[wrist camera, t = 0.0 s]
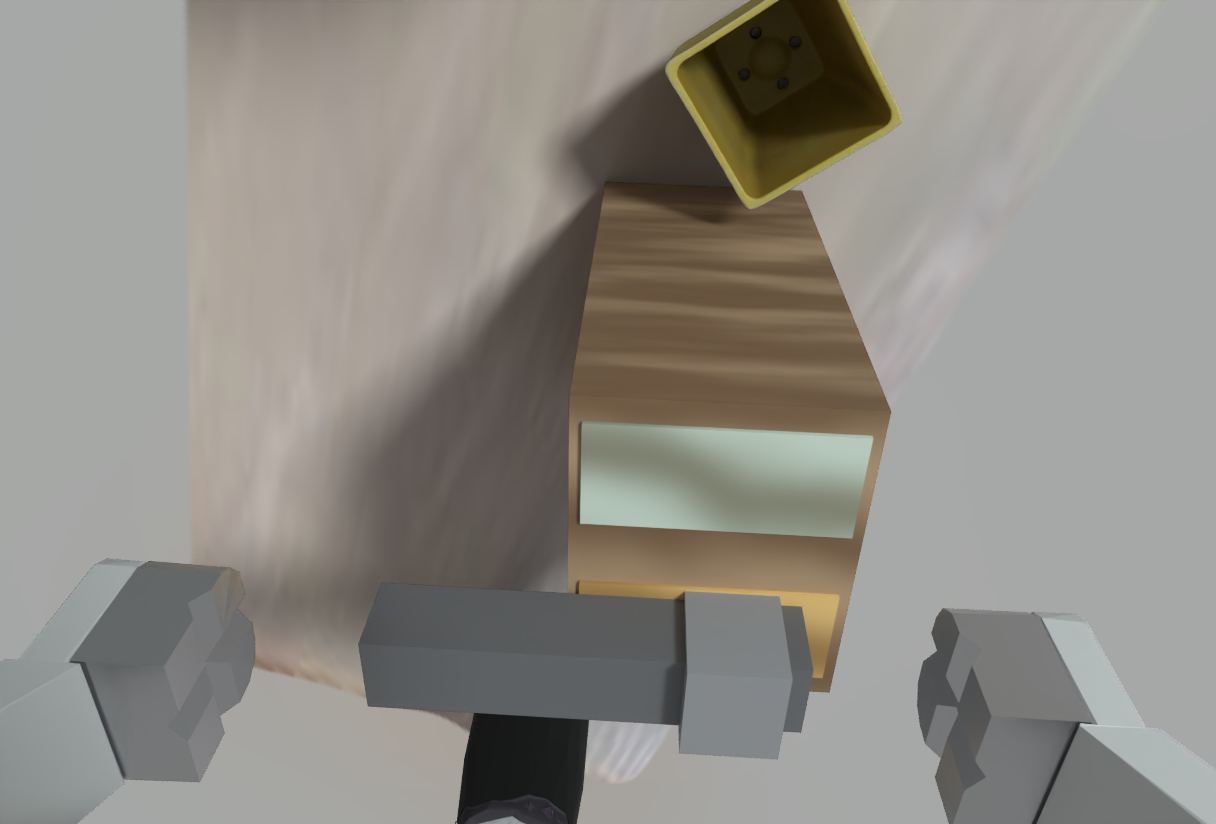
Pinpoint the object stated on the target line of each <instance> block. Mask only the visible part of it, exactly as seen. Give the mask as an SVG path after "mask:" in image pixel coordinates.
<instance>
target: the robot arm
mask: <svg viewBox="0 0 1216 824" xmlns="http://www.w3.org/2000/svg"><path fill="white" fill-rule="evenodd" d="M244 595H245V592H244V588H243V584H242V581H241V577H240V574H239V572H238V571H236V570H234V569H232V568H229V567H216V566H204V565H192V564H179V563H167V562H155V561H148V562H142V561H130V560H118V559H108V558H107V559H105V560H103V561H101V562H99V563H97V564H95V565H94V566H93V567H92V568H91V570H90V571H89V572H88V573H87V574H86V576H85V577H84V578H83V579H82V581H81V582H80V583H79V584H78V586H77V587H76V588H75V589H74V591H73V592H72V593H71V595H70V596H69V597H68V598H67V599H66V601H65V602H64V603H63V604H62V606H61V607H60V608H59V610H58V611H57V612H56V613H55V614H54V616H53V617H52V618H51V619H50V621H49V622H48V623H47V624H46V626H45V627H44V628H43V629H42V631H41V632H40V633H39V634H38V636H37V637H36V638H35V639H34V641H33V642H32V643H31V644H30V646H29V647H28V648H27V649H26V651H25V652H24V653H23V654H22V656H21V657H20V658H19V659H18V660H13V659H4V660H2V661H0V824H77V823H78V822H79V821H80V820H82V819H83V818H84V817H85V816H86V815H88V814H89V813H90V812H91V811H93V810H94V809H95V808H96V807H97V806H99V805H100V804H101V803H102V802H103V801H104V800H106V799H107V798H108V797H109V796H110V795H112V794H113V793H114V792H115V791H116V790H118V789H119V788H120V787H121V786H122V785H124V780H123V779H126V780H127V779H129V780H154V781H182V782H200V781H201V779H202V777H203V775H204V773H205V771H206V769H207V767H208V765H209V763H210V761H211V759H212V757H213V755H214V753H215V751H216V749H217V747H218V745H219V743H220V741H221V739H222V737H223V735H224V729H223V725H222V722H221V718H220V715H222V714H223V713H225V712H226V711H228V710H229V709H230V708H232V707H233V706H235V705H236V704H238V703H239V702H240V701H241V699H242V697H243V695H244V692H245V690H246V688H247V686H248V684H249V682H250V677H251V673H252V669H253V664H254V660H255V635H254V631H253V626H252V622H251V621H250V620H249V619H248V618H247V617H246V616H245V615H244V614H243V613H241V612H240V611H239V610H238V609H237V607H238V605H239V604H240V602H241V600H242V598H243V596H244ZM932 636H933V639H934V642H935V645H936V649H937V651H936V652H935V653H934V654H933V655H931V656H930V657H929V658H927V659H926V660H924V661H923V665H922V669H921V673H920V677H919V681H918V700H917V707H918V714H919V722H920V727H921V730H922V734H923V737H924V741H925V744H926V745H927V746H928V747H929V748H930V749H931V750H933V751H934V752H935V753H936V754H937V755H938V756H939V757H940V758H941V760H940V763H939V766H938V770H937V773H936V776H935V778H936V782H937V786H938V789H939V792H940V796H941V799H942V802H943V805H944V809H945V812H946V815H947V819H948V822H949V824H1216V770H1215V769H1214V768H1212V767H1211V766H1210V765H1209V764H1207V763H1206V762H1204V761H1203V760H1202V759H1200V758H1199V757H1198V756H1196V755H1195V754H1193V753H1192V752H1191V751H1190V750H1188V749H1187V748H1185V747H1184V746H1183V745H1181V744H1180V743H1179V742H1177V741H1176V740H1175V739H1173V738H1171V737H1170V736H1169V735H1168V734H1166V733H1165V732H1163V731H1162V730H1161V729H1156V728H1146V727H1145V725H1144V723H1143V722H1142V720H1141V718H1140V716H1139V714H1138V712H1137V711H1136V709H1135V707H1134V705H1133V704H1132V702H1131V700H1130V698H1129V697H1128V695H1127V693H1126V691H1125V689H1124V688H1123V686H1122V684H1121V682H1120V680H1119V679H1118V677H1117V675H1116V673H1115V672H1114V670H1113V668H1112V666H1111V665H1110V662H1109V661H1108V659H1107V657H1106V655H1105V654H1104V652H1103V650H1102V648H1101V647H1100V645H1099V643H1098V641H1097V639H1096V637H1095V636H1094V634H1093V632H1092V630H1091V629H1090V627H1089V625H1088V623H1087V622H1086V620H1085V619H1084V618H1082V617H1081V616H1080V615H1078V614H1069V613H1045V612H1044V613H1043V612H1032V613H1027V612H1011V611H989V610H969V609H949V608H943V609H942V610H941V612H940V613H939V614H938V616H937V617H936V620H935V623H934V627H933V630H932Z"/></svg>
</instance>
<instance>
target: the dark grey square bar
mask: <svg viewBox="0 0 1216 824" xmlns="http://www.w3.org/2000/svg"><path fill="white" fill-rule="evenodd" d="M358 645H359V652H360V658H361V665H362V671H363V678H364V684H365V691H366V697H367V704H368V706H370V707H386V708H403V709H419V710H436V711H452V712H469V713H485V714H502V715H519V716H535V717H552V718H568V719H585V720H601V721H618V722H634V723H651V724H667V725H679V753H682V754H698V755H714V756H730V757H746V758H747V757H748V758H764V759H778V755H779V750H780V744H781V739H782V734H783V732H800V733H801V730H802V725H803V720H804V715H805V710H806V706H807V700H808V695H809V691H810V686H811V681H812V676H813V671H814V670H813V665H812V659H811V654H810V648H809V643H808V637H807V632H806V626H805V621H804V616H803V610H802V607H801V606H783V605H781V601H780V596H764V595H746V594H728V593H711V592H693V591H685V596H684V600H677V599H660V598H642V597H624V596H607V595H589V594H572V593H554V592H536V591H519V590H501V589H483V588H466V587H448V586H430V585H413V584H395V583H381V586H380V589H379V591H378V594H377V596H376V599H375V602H374V604H373V607H372V610H371V612H370V615H369V617H368V620H367V623H366V625H365V628H364V630H363V633H362V636H361V638H360V641H359V644H358Z"/></svg>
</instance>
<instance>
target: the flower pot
mask: <svg viewBox="0 0 1216 824" xmlns="http://www.w3.org/2000/svg"><path fill="white" fill-rule="evenodd" d="M753 28H759V29H760V31H761V34H760V36H759V37H758V38H753V37H752V36H751V30H752V29H753ZM793 37H797V38H799V40H800V43H799V45H798V46H797V47H791V46H790V40H791V38H793ZM742 69H747V70H748V71H749V76H748V77H747V78H746V79H742V78H740V76H739V73H740V71H741V70H742ZM665 73H666V75H667V77H668V79H669V81H670V83H671V84H672V86H673V87H674V89H675V90H676V92H677V94H678V95H679V97H680V99H681V100H682V102H683V104H684V105H685V107H686V109H687V110H688V112H689V114H690V115H691V117H692V119H693V120H694V122H695V124H696V125H697V127H698V129H699V130H700V132H701V134H702V135H703V137H704V139H705V140H706V142H707V144H708V146H709V147H710V149H711V151H712V152H713V154H714V156H715V158H716V159H717V161H718V162H719V164H720V166H721V168H722V169H723V171H724V173H725V174H726V176H727V178H728V180H729V181H730V183H731V185H732V186H733V188H734V190H735V192H736V193H737V195H738V197H739V198H740V200H741V201H742V203H743V205H744V206H745V207H746V208H747V209H755V208H758V207H760V206H762V205H764V204H766V203H767V202H769V201H771V200H772V199H774V198H776V197H778V196H779V195H781V194H783V193H785V192H786V191H788V190H790V189H792V188H793V187H795V186H797V185H798V184H800V183H802V182H803V181H805V180H807V179H809V178H810V177H812V176H814V175H816V174H818V173H819V172H821V171H823V170H824V169H826V168H828V167H829V166H831V165H833V164H835V163H836V162H838V161H840V160H842V159H843V158H845V157H847V156H849V155H851V154H852V153H854V152H856V151H857V150H859V149H861V148H863V147H865V146H867V145H868V144H870V143H872V142H874V141H876V140H877V139H879V138H881V137H882V136H884V135H886V134H887V133H889V132H890V131H892V130H893V129H895V128H896V127H897V126H898V125H899V124H900V123H901V122H902V115H901V112H900V109H899V107H898V105H897V103H896V101H895V99H894V97H893V95H892V93H891V91H890V89H889V87H888V85H887V83H886V81H885V79H884V77H883V75H882V73H881V71H880V69H879V67H878V65H877V63H876V61H875V59H874V57H873V55H872V53H871V51H870V49H869V47H868V45H867V43H866V41H865V39H864V37H863V35H862V33H861V30H860V28H859V26H858V24H857V22H856V20H855V18H854V16H853V14H852V12H851V9H850V7H849V5H848V3H847V0H750V1H749V2H747V3H746V4H744V5H743V6H741V7H740V8H738V9H737V10H735V11H734V12H732V13H730V14H729V15H727V16H726V17H724V18H723V19H721V20H720V21H718V22H716V23H715V24H713V25H712V26H710V27H709V28H707V29H706V30H704V31H702V32H701V33H699V34H698V35H696V36H694V37H693V38H691V39H690V40H688V41H686V42H685V43H684V44H682V45H681V46H680V47H679V48H678V49H677V50H676V52H675V53H674V55H673V56H672V57H671V59H670V60H669V61H668V63H667V64H666V67H665ZM781 78H785V79H786V80H787V86H786V87H784V88H780V87H779V86H778V81H779V79H781Z"/></svg>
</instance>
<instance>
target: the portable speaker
mask: <svg viewBox="0 0 1216 824" xmlns="http://www.w3.org/2000/svg"><path fill="white" fill-rule="evenodd" d="M588 724H589V720H585V719H568V718H552V717H535V716H519V715H502V714H485V713H474V716H473V721H472V726H471V730H470V735H469V740H468V744H467V749H466V754H465V758H464V766H463V775H462V783H461V791H460V800H459V808H458V817H457V824H577V818H578V813H579V807H580V802H581V796H582V791H583V781H584V770H585V759H586V747H587V736H588ZM455 824H456V823H455Z"/></svg>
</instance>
